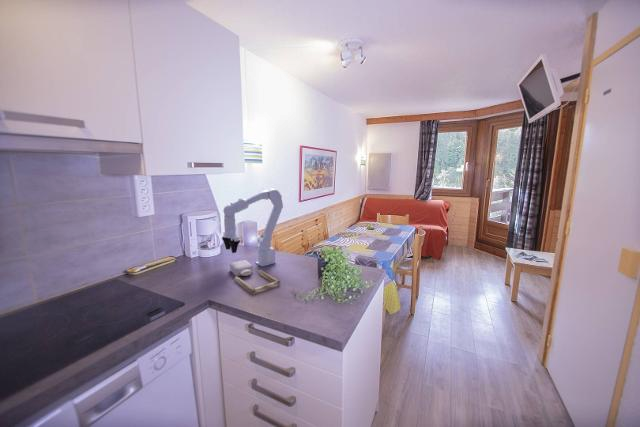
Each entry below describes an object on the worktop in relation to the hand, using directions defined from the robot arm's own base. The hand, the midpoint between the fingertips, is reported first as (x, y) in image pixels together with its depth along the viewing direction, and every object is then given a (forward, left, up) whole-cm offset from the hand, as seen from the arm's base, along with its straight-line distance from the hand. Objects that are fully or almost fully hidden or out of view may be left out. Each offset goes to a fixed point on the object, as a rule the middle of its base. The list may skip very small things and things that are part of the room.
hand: (231, 250), depth 144 cm
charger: (-1, +12, -10) cm, 16 cm away
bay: (-1, +26, -9) cm, 28 cm away
